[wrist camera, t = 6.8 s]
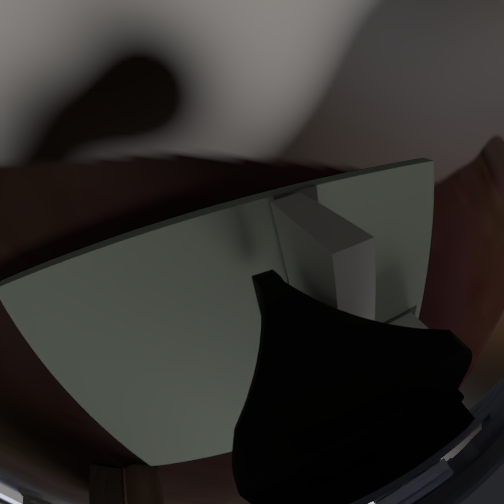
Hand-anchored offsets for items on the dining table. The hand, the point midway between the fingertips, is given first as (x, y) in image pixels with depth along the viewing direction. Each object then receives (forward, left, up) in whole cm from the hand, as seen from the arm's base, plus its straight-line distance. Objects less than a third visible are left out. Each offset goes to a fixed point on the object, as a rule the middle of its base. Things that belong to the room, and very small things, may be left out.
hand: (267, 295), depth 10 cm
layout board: (-6, +1, -2) cm, 7 cm away
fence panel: (-2, -2, -1) cm, 3 cm away
